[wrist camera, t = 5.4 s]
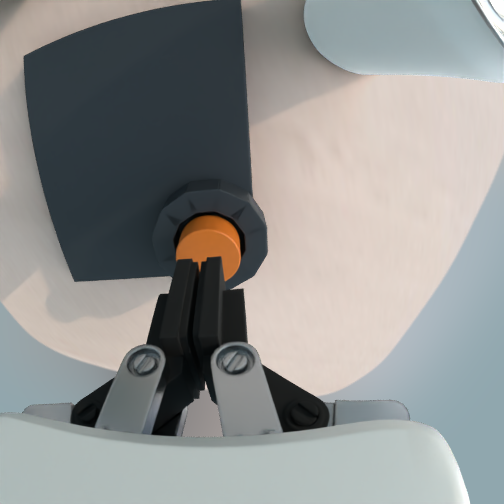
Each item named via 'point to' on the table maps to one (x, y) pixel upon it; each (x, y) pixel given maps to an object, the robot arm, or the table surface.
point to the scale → (145, 138)
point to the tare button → (211, 243)
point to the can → (410, 36)
